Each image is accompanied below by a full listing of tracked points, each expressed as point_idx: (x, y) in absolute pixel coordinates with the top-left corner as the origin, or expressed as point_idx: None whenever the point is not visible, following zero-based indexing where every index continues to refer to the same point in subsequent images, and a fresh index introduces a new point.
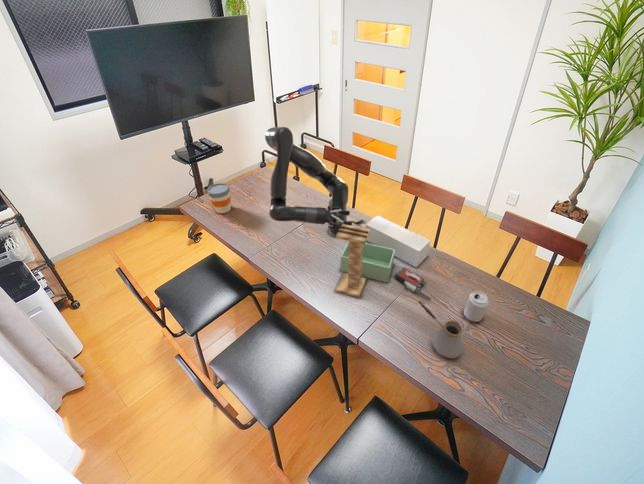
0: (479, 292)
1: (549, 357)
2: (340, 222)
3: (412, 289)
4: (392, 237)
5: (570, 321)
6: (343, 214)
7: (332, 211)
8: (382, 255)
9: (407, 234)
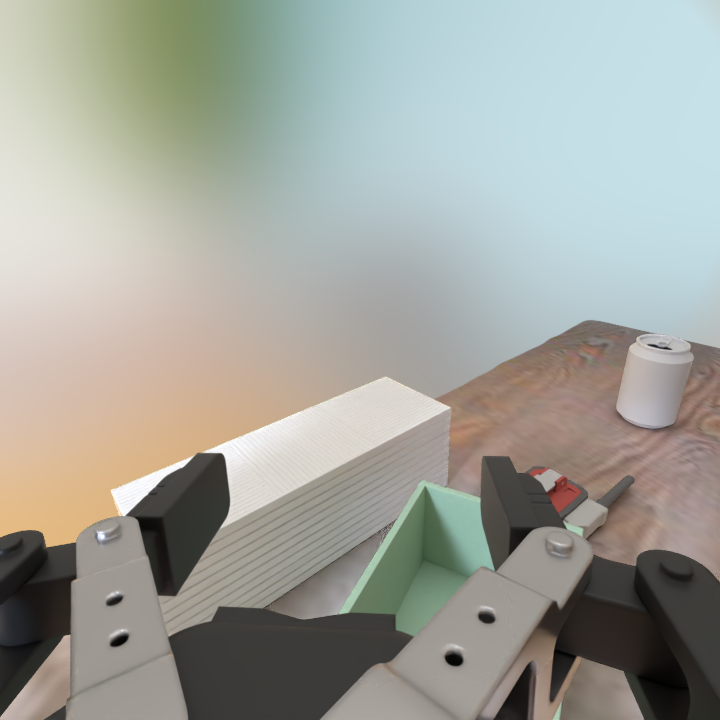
0: (639, 340)
1: (707, 358)
2: (579, 591)
3: (603, 516)
4: (337, 465)
5: (587, 324)
6: (191, 559)
7: (140, 696)
8: (402, 570)
9: (331, 418)
